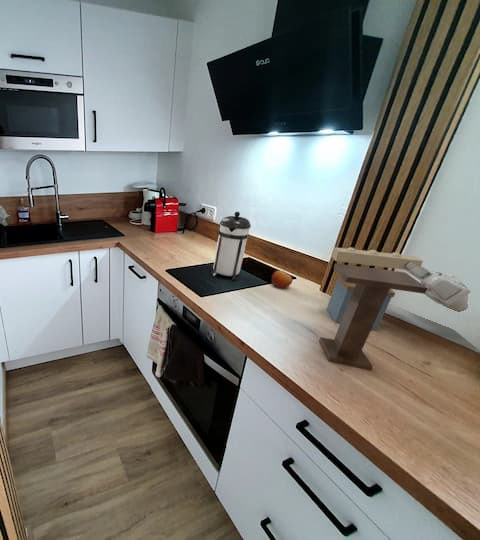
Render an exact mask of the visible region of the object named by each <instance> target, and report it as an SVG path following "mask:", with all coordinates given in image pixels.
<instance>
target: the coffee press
mask: <svg viewBox="0 0 480 540" xmlns="http://www.w3.org/2000/svg"><path fill="white" fill-rule="evenodd" d="M240 215H241V212H239V211H235V212H234V215H229V216H228V215H227V216H225V217H223V218H222V220H220V222H219V225H220V227H219V229H218V238H217V243H216V248H215V249H216V250H215V254H214V261H213V267H212V269H213V270H212V271H211V273H210V275H211V276H212V277H215V276H216V275H217V274H219V275H221V276H225V277H230V279H231V281H233V282H234V281H235V282H236V281H237V276H238V275H239V274H241V269H242V264H243V260H244V256H245V250H246V246H247V241H248V238H249V235H250V233H249V232H250V229H251V227H252V224H251V222H250V220H249V219H248V218H246V217H243V216H240Z"/></svg>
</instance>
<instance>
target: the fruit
mask: <svg viewBox="0 0 480 540" xmlns="http://www.w3.org/2000/svg"><path fill="white" fill-rule="evenodd" d="M292 283H293V278H292V276H291V275H290V274H289V273H287V272H286V271H284V270H275V271H274V272H273V274H272V276H271V284H273V286H272V288H275V287H277V288H281V289H287V288H289V286H291V285H292Z"/></svg>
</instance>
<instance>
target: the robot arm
mask: <svg viewBox="0 0 480 540" xmlns="http://www.w3.org/2000/svg"><path fill="white" fill-rule="evenodd" d="M405 266H406V267H407V268H409V269H410V270H405V271H406V273H408V274H409V275H412V277H415V278H416V280H417V279H418V280H419V282H420V283H421V284H422V285H424V286H425V287H427V288H428V289H427V291H426V293H425V294H424V295H425V296H426V297H427V298H429V299H430V300H432V301H433V302H434V303H436V304H439V305H440V306H443V307H444V306H445V307H447V308H449V309H452V310H454V311H457V312H461V311H464V310H466V309H467V308H468V304H467V302H468V294H469V293H470V292H471V291H470V290H469V289H468V288H467V287H466V286H465V284H464V283H463V282H461V281H460V280H459V279H458V278H457V277H456V276H454V275H453V274H451V273H447V274H443V273H440V272H436V273H433V272H434V271H432V270H430V269H428V268H427V267H425V266H424V265H423V264H422V265H421V267H418V266H417V265H415V264H414V263H412V262H410V261H409V262H407V263H406V264H405Z"/></svg>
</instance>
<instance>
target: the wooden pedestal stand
mask: <svg viewBox="0 0 480 540" xmlns="http://www.w3.org/2000/svg"><path fill="white" fill-rule="evenodd" d="M333 270H334V271H335V272H336V273H337V275H338V274H339V275H340V276H341V277H342V279H343V280H344V281H345V282H348V283H355V284H356V286H355V288H354V291H353V293H352V296H351V298H350V301H349V303H348V306H347V308H346V311H345V313H344V316H343V318H342V321H341V323H340V324H339V326H338V328H337V331H336V333H335V336H334V339H332V338H327V337H322V336H320V337H319V340H318V342H319V344H320V346H321V348H322V350H323V353H324V355H325V357H326V359H327V361H328V362H331V363H335V364H339V365H344V366H348V367H353V368H357V369H362V370H367V371H371V370H372V368H373V365H372V363H371V362H370V360H369V358H368V357H367V356H366V354H365V352H364V351H363V349H364V347H365V344H366V342H367V341H368V340H367V339H368V337H369V335H370V334H371V331H372V330H371V329H372V327H373V324H374V322H375V320H376V318H377V316H378V313H379V311H380V309H381V307H382V305H383V303H384V300H385V298H386V296H387V294H388V292H389V289H391V290H397V291H404V292H409V293H417V294H422V295H425V293H426V291H427V289H428V288H427V287H425V286H424V285H422V284H421V281H418V280H417V279H415V278H414V277H413V276H411V274H409V273H408V272H403V271H398V270H390V269H383V268H382V269H381V268H374V267H366V266H359V265H351V264H343V263H334V265H333Z"/></svg>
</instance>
